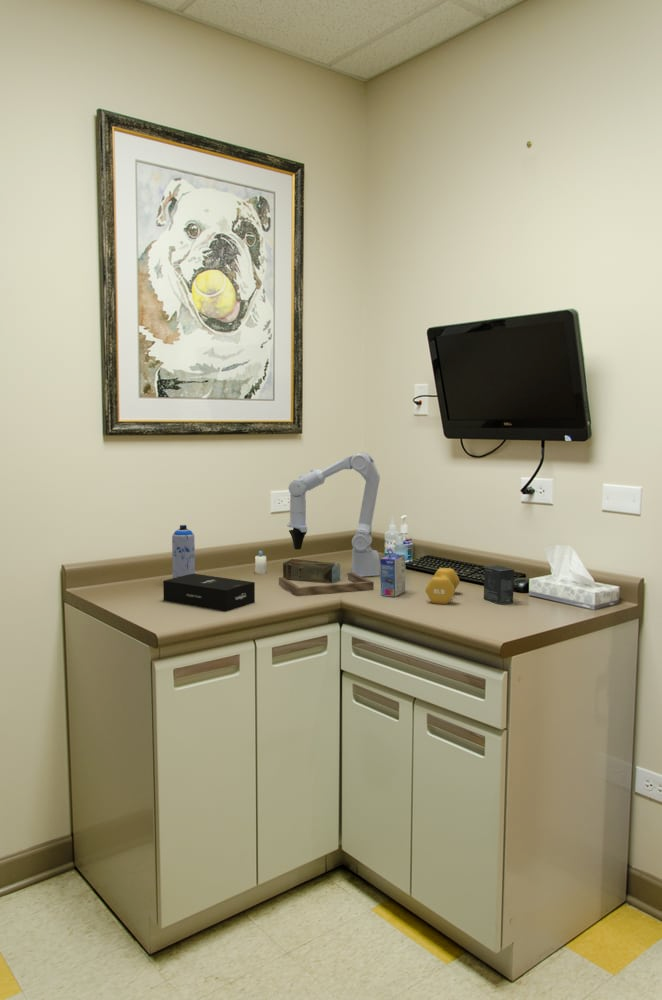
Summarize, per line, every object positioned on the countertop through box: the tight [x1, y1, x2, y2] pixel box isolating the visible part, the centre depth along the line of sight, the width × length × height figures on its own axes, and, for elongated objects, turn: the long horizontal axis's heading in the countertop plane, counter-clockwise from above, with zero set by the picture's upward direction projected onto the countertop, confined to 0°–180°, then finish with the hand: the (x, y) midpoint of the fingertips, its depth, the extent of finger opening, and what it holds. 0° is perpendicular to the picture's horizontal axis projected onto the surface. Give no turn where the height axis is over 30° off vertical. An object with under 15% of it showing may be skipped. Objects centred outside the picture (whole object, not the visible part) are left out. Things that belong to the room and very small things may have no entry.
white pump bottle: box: [254, 550, 267, 575], centre depth 279 cm, size 4×4×8 cm
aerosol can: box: [171, 524, 196, 578], centre depth 259 cm, size 8×8×20 cm
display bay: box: [278, 571, 375, 597], centre depth 255 cm, size 27×18×2 cm, turn 112°
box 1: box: [162, 573, 256, 612], centre depth 234 cm, size 25×14×7 cm, turn 58°
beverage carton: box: [282, 558, 341, 584], centre depth 268 cm, size 8×19×7 cm, turn 68°
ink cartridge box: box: [379, 548, 406, 598], centre depth 246 cm, size 10×6×14 cm, turn 155°
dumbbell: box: [425, 567, 460, 605], centre depth 241 cm, size 19×9×8 cm, turn 164°
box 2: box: [483, 564, 515, 605], centre depth 236 cm, size 8×6×11 cm
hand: (297, 549), depth 280 cm, fingers closed
